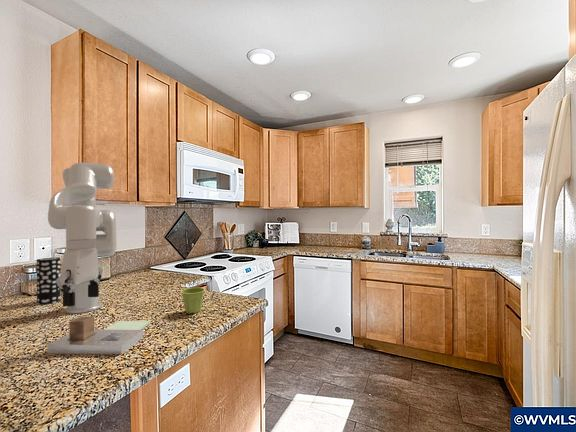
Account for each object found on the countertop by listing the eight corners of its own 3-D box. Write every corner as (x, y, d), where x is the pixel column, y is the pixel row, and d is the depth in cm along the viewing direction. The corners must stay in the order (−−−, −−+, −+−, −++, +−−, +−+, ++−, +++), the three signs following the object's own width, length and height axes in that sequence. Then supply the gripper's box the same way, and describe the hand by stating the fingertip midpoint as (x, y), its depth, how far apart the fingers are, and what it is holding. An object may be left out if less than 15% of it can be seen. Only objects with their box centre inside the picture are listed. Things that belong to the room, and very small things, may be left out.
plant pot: (191, 316, 111) (191, 294, 111) (176, 312, 116) (176, 291, 116) (209, 310, 119) (209, 289, 119) (194, 306, 124) (194, 286, 124)
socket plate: (47, 353, 82) (47, 344, 82) (77, 336, 93) (77, 329, 93) (121, 354, 81) (121, 345, 81) (142, 337, 92) (142, 329, 92)
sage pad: (101, 333, 96) (101, 330, 96) (118, 323, 105) (118, 320, 105) (136, 333, 95) (136, 331, 95) (150, 323, 104) (150, 321, 104)
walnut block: (69, 348, 85) (69, 321, 85) (80, 341, 90) (80, 316, 90) (83, 348, 85) (83, 321, 85) (94, 341, 89) (94, 316, 89)
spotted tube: (32, 303, 129) (32, 259, 129) (53, 298, 136) (53, 257, 136) (43, 305, 126) (43, 260, 126) (64, 300, 133) (64, 258, 133)
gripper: (90, 243, 96) (90, 294, 96) (44, 248, 79) (44, 310, 78) (111, 243, 96) (112, 293, 95) (70, 247, 78) (71, 310, 78)
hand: (81, 301), depth 87 cm, fingers open, 9 cm apart
